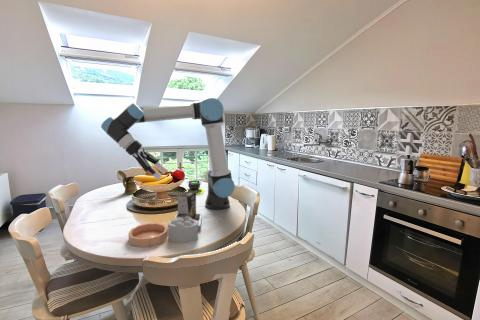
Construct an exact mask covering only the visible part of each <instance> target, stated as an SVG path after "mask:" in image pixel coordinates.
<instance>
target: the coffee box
mask: <svg viewBox="0 0 480 320" xmlns="http://www.w3.org/2000/svg"><path fill="white" fill-rule="evenodd" d="M184 191H185V190H184ZM184 191H183V192H182V193H181V194H179V195H177V214H178V217H185V216H190V217H191V218H192V219H194V220H196V221H197V218H196V213H197V194H196V192H186V191H185V192H184Z"/></svg>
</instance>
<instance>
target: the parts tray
mask: <svg viewBox="0 0 480 320" xmlns="http://www.w3.org/2000/svg"><path fill="white" fill-rule="evenodd" d="M177 217H178V213H175V216H174V219H175V218H177ZM202 218H203V217H202V213H200V212H199V213H197V212H196V219H199V220H198V231H201V228H202ZM174 219H173V220H174Z"/></svg>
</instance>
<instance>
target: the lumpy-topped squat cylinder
mask: <svg viewBox="0 0 480 320" xmlns="http://www.w3.org/2000/svg"><path fill="white" fill-rule="evenodd" d="M174 218H175V217H174ZM198 225H199V221H197V219H196V220H194V219H192V218H191V217H190V216H185V217H177V218H175V219H172V220H170V221H168V223H167V228H168V236H167V239H168V240H169V241H172V242H174V241H175V243H180V244H186V243H193V242H195V241H197V240H198V239H199V230H198Z"/></svg>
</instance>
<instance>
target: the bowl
mask: <svg viewBox="0 0 480 320" xmlns="http://www.w3.org/2000/svg"><path fill="white" fill-rule="evenodd" d="M167 239H168V226H166V225H165V224H163V223H159V222H147V223H144V224H143V223H142V224H138V225H137V226H135V227H133V228H131V229H130V230H129V232H128V242H129V243H130V246H133V247H134V246H135V247H137V248H147V247H152V246H153V247H154V246H156V245H159V244H162V243H163V242H165V241H166V240H167Z"/></svg>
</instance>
